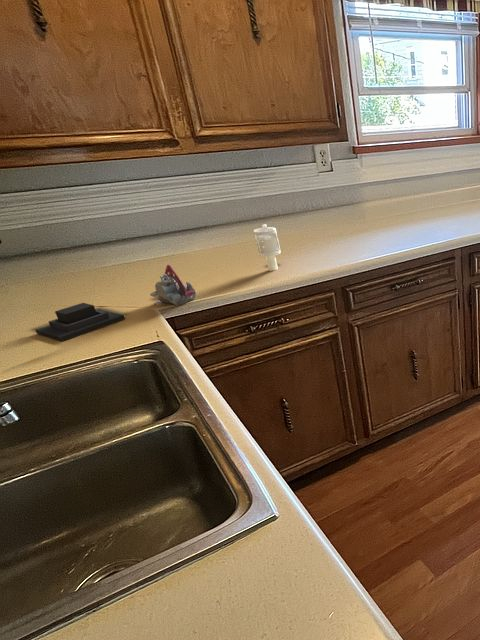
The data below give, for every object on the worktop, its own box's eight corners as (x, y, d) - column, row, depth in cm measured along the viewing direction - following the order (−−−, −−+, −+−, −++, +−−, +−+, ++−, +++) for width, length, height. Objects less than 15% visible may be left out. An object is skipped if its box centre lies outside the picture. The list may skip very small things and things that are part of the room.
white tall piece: (284, 265, 184) (275, 223, 177) (283, 270, 178) (274, 227, 171) (263, 267, 182) (253, 225, 175) (262, 273, 176) (252, 229, 169)
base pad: (62, 341, 130) (57, 331, 128) (36, 333, 135) (32, 324, 133) (125, 319, 142) (122, 309, 141) (100, 312, 147) (96, 303, 146)
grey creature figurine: (209, 289, 155) (176, 264, 145) (187, 319, 152) (152, 296, 142) (188, 283, 161) (154, 259, 151) (166, 313, 157) (131, 290, 147)
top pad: (71, 328, 134) (65, 314, 132) (60, 325, 136) (54, 311, 134) (99, 319, 139) (93, 305, 138) (88, 316, 142) (83, 302, 140)
